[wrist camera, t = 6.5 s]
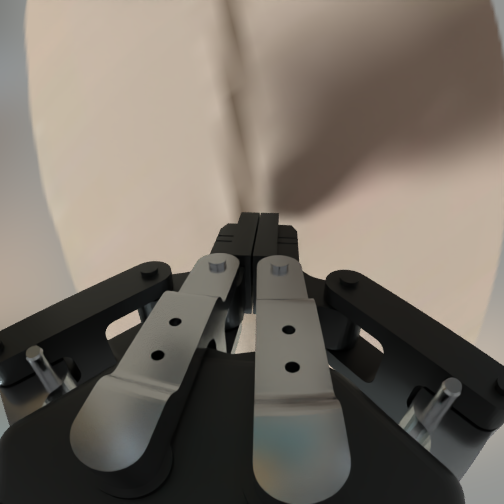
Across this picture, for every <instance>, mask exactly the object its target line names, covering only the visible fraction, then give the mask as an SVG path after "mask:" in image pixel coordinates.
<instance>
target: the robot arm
mask: <svg viewBox="0 0 504 504" xmlns="http://www.w3.org/2000/svg"><path fill="white" fill-rule="evenodd" d="M278 222H279V213H261V215H260V213H251V212H242V213H241V215H240V218H239V221H238V224H229V223H228V224H227V225H225V226H224V227H223V228H221V229H220V232H219V234H218V236H217V239H216V242H215V243H214V246H213V248H212V251H211V253H210V254H209V255H206V256H203V257H202V258H200V259H199V260H198V261H197V262H196V264H195V265H194V267H193V269H192V270H191V272H186V273H179V274H172V272H171V268H170V266H169V265H168V264H166V263H164V262H159V261H152V262H146V263H142V264H140V265H137V266H135V267H133V268H131V269H129V270H126V271H124V272H122V273H120V274H118V275H116V276H113V277H111V278H109V279H107V280H105V281H102V282H100V283H98V284H96V285H94V286H92V287H90V288H87V289H85V290H83V291H81V292H79V293H77V294H75V295H73V296H71V297H68V298H66V299H64V300H62V301H60V302H58V303H56V304H54V305H52V306H50V307H48V308H46V309H44V310H42V311H39V312H37V313H35V314H33V315H32V316H29V317H27V318H26V319H23V320H22V321H20V322H17V323H15V324H13V325H11V326H9V327H7V328H5V329H3V330H1V331H0V395H1V398H2V402H3V405H4V409H5V412H6V415H7V419H8V422H9V425H10V427H9V428H8V429H7V430H6V431H5V432H4V434H3V436H2V437H1V439H0V504H465V499H464V493H463V490H462V487H461V485H460V483H459V481H460V480H461V478H462V477H463V476H464V474H465V473H466V472H467V470H468V469H469V467H470V466H471V464H472V463H473V462H474V460H475V458H476V457H477V456H478V454H479V452H480V451H481V449H482V448H483V446H484V445H485V443H486V441H487V440H488V439H489V438H490V437H491V436H492V435H493V434H494V433H495V432H496V431H497V430H498V429H499V428H500V427H501V426H502V425H503V423H504V366H503V365H501V364H500V363H498V362H497V361H496V360H494V359H493V358H491V357H490V356H488V355H487V354H485V353H484V352H482V351H481V350H479V349H478V348H477V347H475V346H474V345H472V344H471V343H469V342H468V341H466V340H465V339H463V338H462V337H460V336H459V335H457V334H456V333H454V332H453V331H451V330H450V329H448V328H447V327H445V326H443V325H442V324H440V323H439V322H437V321H436V320H434V319H433V318H431V317H430V316H428V315H427V314H425V313H423V312H422V311H420V310H419V309H417V308H416V307H414V306H412V305H411V304H409V303H408V302H406V301H405V300H403V299H401V298H400V297H398V296H397V295H395V294H393V293H392V292H390V291H389V290H387V289H385V288H384V287H382V286H381V285H379V284H377V283H376V282H374V281H372V280H371V279H369V278H368V277H366V276H364V275H363V274H361V273H358V272H355V271H351V270H337V271H334V272H332V273H330V274H329V275H328V276H327V277H326V280H322V279H318V278H314V277H312V276H310V275H308V274H306V273H305V272H303V271H302V266H301V264H300V263H299V252H298V239H297V231H296V230H295V229H294V228H293V227H292V226H291V225H278ZM252 307H253V314H256V342H255V352H248V353H240V354H235V351H236V348H237V344H238V341H239V338H240V334H241V331H242V320H243V316H244V313H246V314H251V313H252ZM137 309H138V313H139V316H140V320H141V323H140V324H138V325H136V326H134V327H132V328H130V329H129V330H127V331H125V332H123V333H121V334H119V335H117V336H116V337H114V338H112V339H110V340H107V338H106V334H105V332H106V329H107V327H108V326H109V324H111V323H112V322H114V321H116V320H118V319H120V318H121V317H123V316H125V315H127V314H129V313H131V312H133V311H135V310H137ZM361 328H362V329H363V330H364V331H366V332H367V333H369V334H370V335H371V336H373V337H374V338H375V339H377V340H378V341H379V342H380V344H381V345H382V347H383V350H384V354H383V353H382V352H381V351H379V350H378V349H377V348H375V347H374V346H373V345H372V344H370V343H369V342H368V341H366V340H365V339H364V338H362V337H361V336H360V335H359V333H360V329H361ZM328 364H329V365H330V366H331V367H332V368H333V369H331V368H329V365H328ZM335 370H336V371H335ZM398 424H399V425H398Z"/></svg>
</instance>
